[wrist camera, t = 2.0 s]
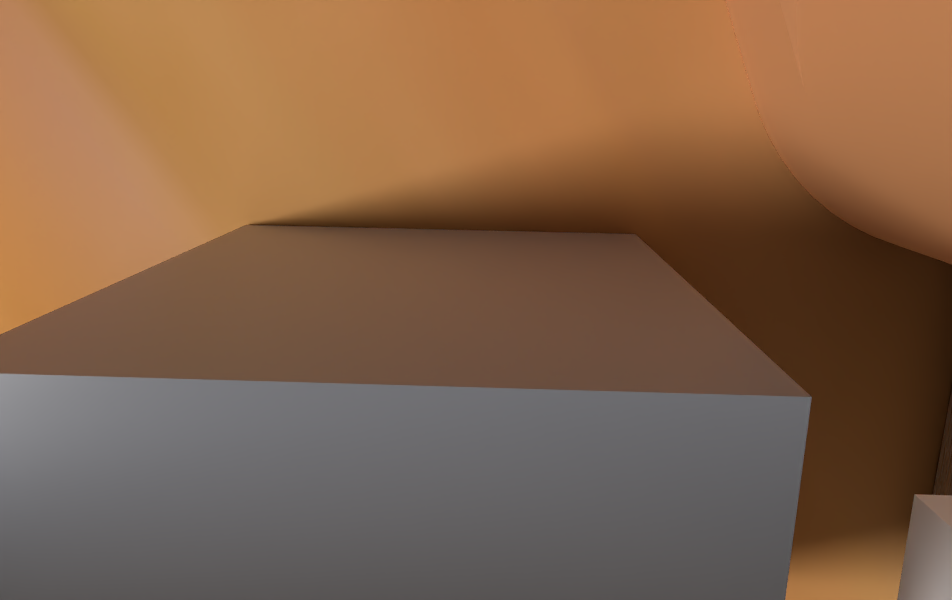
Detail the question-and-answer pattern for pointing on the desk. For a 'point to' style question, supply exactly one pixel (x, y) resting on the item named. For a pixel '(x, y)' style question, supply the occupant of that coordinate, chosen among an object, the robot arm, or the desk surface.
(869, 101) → the bracket
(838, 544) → the desk surface
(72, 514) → the squarish grey box
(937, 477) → the shaft base
